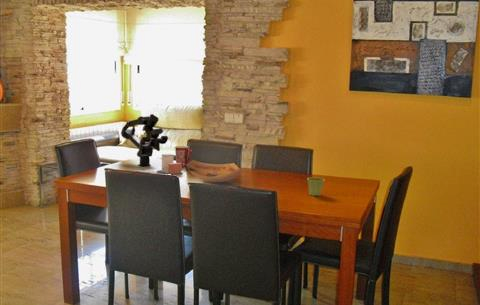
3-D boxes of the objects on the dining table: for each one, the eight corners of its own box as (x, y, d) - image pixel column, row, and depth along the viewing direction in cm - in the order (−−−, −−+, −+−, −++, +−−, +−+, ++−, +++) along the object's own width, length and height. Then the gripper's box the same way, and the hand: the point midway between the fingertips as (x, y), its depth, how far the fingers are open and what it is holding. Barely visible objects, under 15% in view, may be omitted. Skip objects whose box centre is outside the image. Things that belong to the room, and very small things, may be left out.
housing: (157, 172, 309) (157, 161, 308) (170, 170, 315) (170, 159, 314) (169, 175, 299) (169, 164, 298) (182, 174, 305) (182, 163, 304)
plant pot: (311, 192, 270) (312, 176, 268) (327, 195, 264) (328, 179, 263) (302, 194, 263) (303, 178, 261) (318, 197, 257) (319, 181, 255)
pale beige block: (161, 170, 308) (161, 154, 307) (169, 169, 312) (170, 153, 311) (165, 171, 305) (165, 155, 304) (173, 170, 309) (173, 154, 308)
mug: (172, 166, 329) (172, 146, 327) (179, 164, 337) (179, 145, 335) (188, 168, 324) (188, 148, 322) (195, 166, 332) (195, 147, 330)
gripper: (142, 124, 310) (151, 143, 304) (167, 123, 322) (176, 142, 316) (135, 135, 317) (144, 154, 311) (160, 134, 329) (169, 152, 323)
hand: (159, 150), depth 315 cm, fingers closed
